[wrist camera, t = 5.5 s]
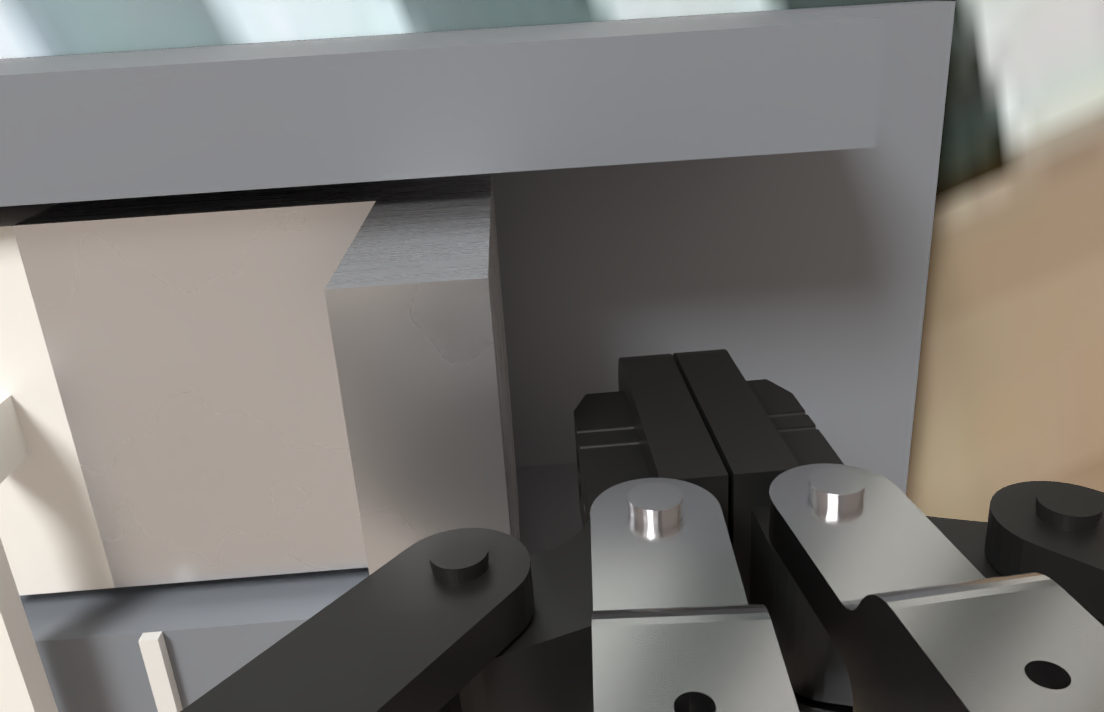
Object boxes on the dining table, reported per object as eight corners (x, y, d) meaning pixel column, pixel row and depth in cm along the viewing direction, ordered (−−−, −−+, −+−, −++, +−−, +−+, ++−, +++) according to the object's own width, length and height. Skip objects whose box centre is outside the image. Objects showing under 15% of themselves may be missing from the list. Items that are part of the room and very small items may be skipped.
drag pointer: (-3, 185, 16) (-231, 272, 11) (113, 176, 16) (-61, 260, 11) (110, 578, 19) (-28, 787, 14) (207, 570, 19) (104, 776, 14)
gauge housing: (-532, 92, 16) (-1655, 201, 8) (924, 1, 17) (1348, 7, 8) (-301, 570, 20) (-886, 993, 11) (882, 476, 21) (1147, 807, 12)
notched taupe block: (113, 176, 16) (-200, 326, 9) (491, 151, 16) (487, 278, 9) (185, 478, 18) (-18, 793, 11) (516, 452, 18) (528, 746, 11)
